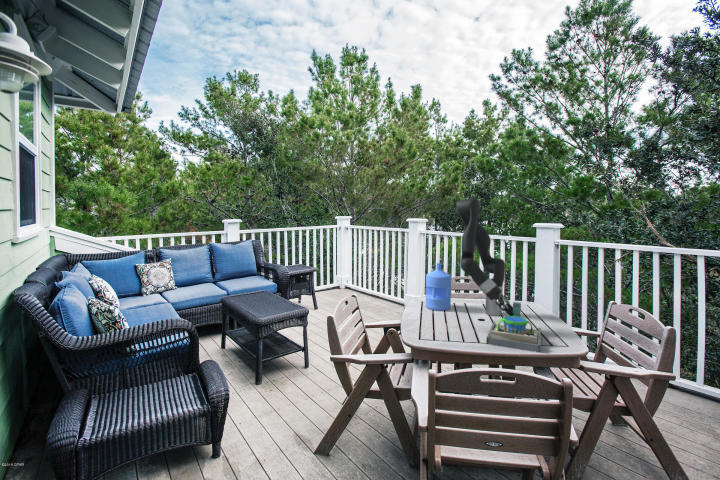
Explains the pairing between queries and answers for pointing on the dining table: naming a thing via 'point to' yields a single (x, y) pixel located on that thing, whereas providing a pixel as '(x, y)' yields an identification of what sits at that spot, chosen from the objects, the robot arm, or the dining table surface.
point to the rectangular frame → (513, 342)
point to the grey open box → (511, 336)
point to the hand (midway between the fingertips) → (513, 313)
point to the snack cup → (515, 325)
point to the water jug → (438, 290)
